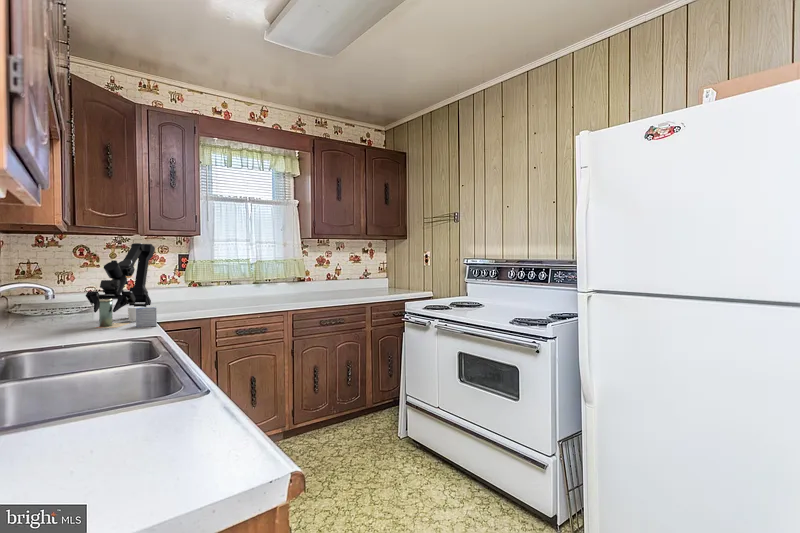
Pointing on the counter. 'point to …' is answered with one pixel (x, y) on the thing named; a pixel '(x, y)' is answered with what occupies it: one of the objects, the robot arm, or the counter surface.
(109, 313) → the tea tin
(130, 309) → the shot glass
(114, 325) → the kraft envelope
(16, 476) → the counter surface
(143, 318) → the medicine box
